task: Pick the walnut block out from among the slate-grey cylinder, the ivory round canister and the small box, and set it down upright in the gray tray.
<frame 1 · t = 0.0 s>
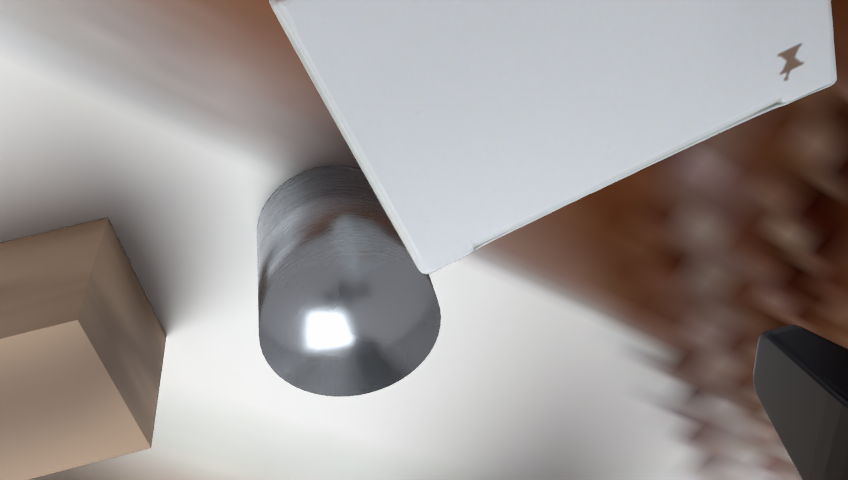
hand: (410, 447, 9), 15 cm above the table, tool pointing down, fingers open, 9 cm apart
walnut block: (61, 298, 24), on the table
slate cylinder: (334, 232, 25), on the table
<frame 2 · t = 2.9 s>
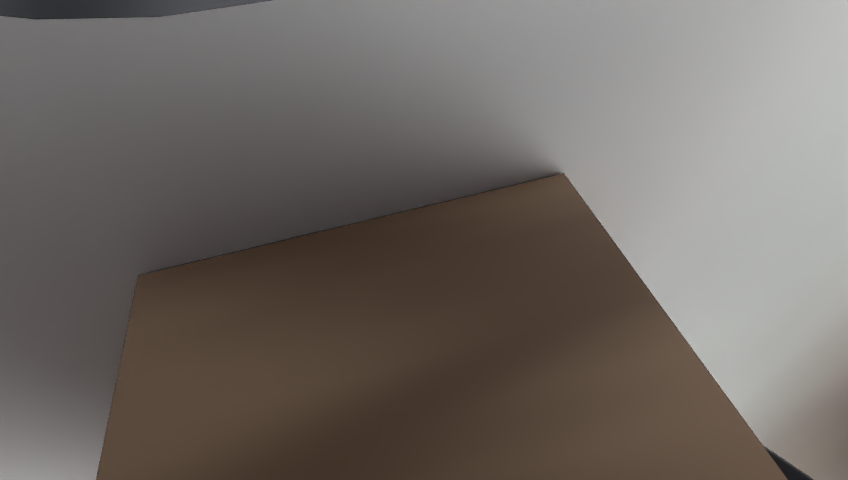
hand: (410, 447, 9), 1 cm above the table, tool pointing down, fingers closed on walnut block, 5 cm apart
walnut block: (393, 375, 10), on the table, touching gripper
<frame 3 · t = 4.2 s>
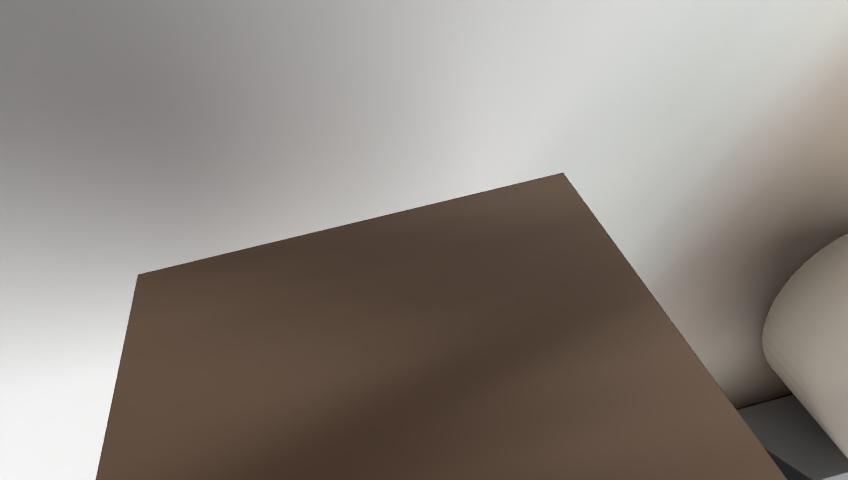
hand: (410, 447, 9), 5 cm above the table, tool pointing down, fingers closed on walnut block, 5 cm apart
walnut block: (393, 374, 10), point 4 cm above the table, touching gripper
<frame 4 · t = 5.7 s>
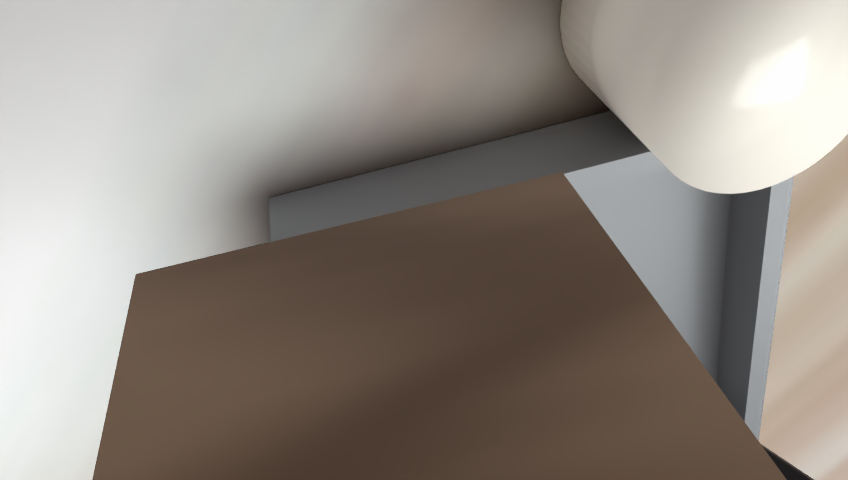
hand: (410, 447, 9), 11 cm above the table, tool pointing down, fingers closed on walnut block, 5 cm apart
walnut block: (392, 374, 10), point 10 cm above the table, touching gripper
ivory round canister: (656, 6, 18), on the table
gray tray: (535, 319, 23), on the table
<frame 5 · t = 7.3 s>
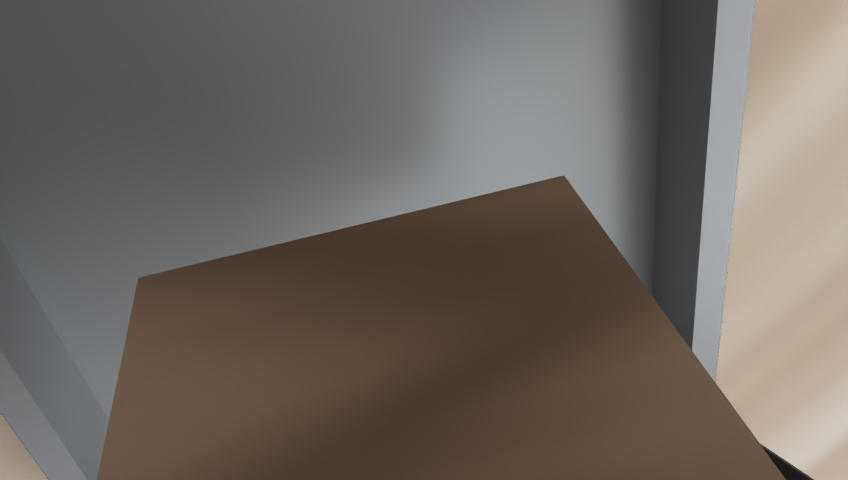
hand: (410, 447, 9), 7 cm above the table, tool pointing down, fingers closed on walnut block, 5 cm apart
walnut block: (394, 377, 10), point 5 cm above the table, touching gripper
gray tray: (348, 189, 14), on the table
when the fingers open (4 cm above the table, at t = 8.6 s): walnut block drops 2 cm, resting on gray tray.
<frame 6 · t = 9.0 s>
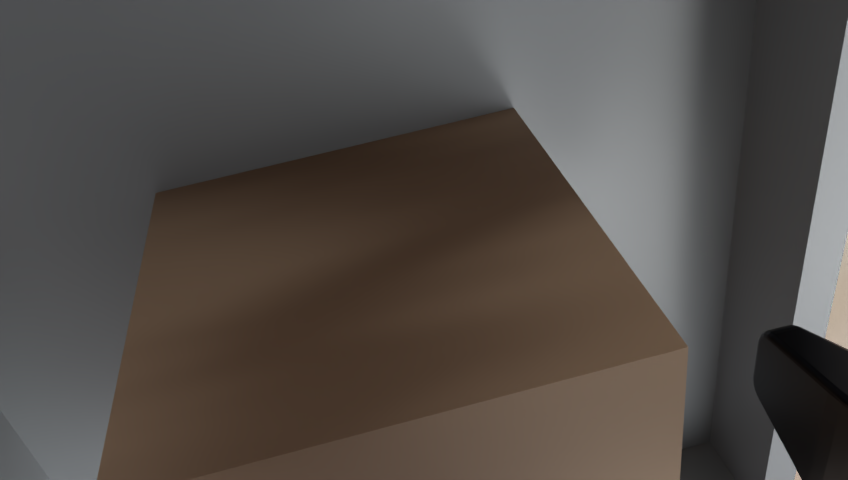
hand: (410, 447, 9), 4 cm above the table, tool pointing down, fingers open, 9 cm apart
walnut block: (374, 289, 12), point 1 cm above the table, touching gray tray
gray tray: (368, 267, 12), on the table
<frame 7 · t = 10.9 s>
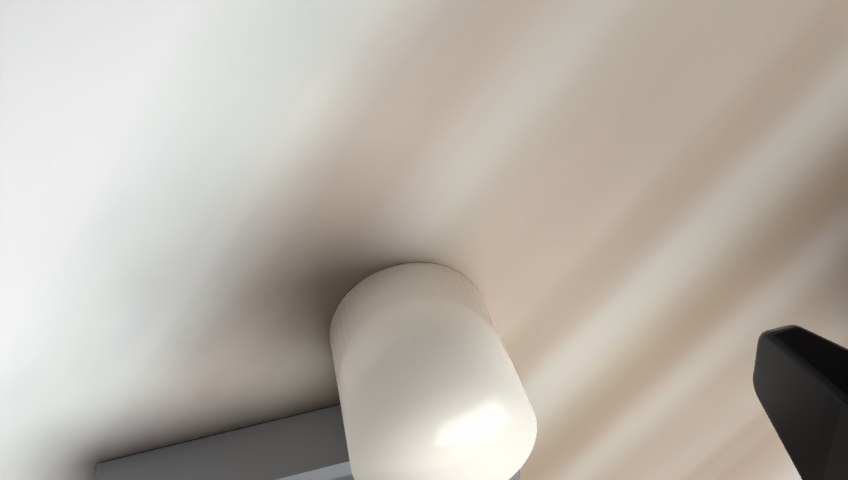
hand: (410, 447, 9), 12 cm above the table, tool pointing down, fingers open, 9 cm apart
ivory round canister: (408, 327, 23), on the table
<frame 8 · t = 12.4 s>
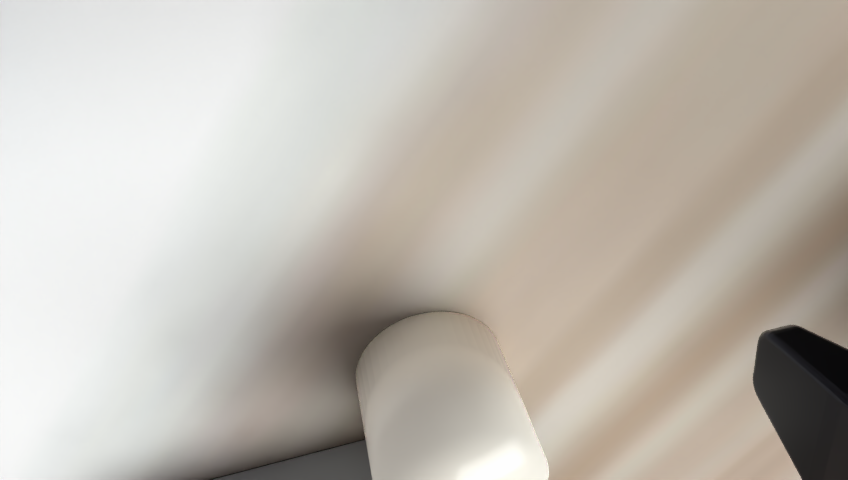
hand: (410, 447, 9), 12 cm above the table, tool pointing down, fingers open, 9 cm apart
ivory round canister: (429, 369, 25), on the table
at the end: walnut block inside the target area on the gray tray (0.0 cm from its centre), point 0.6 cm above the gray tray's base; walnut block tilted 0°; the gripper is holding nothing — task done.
